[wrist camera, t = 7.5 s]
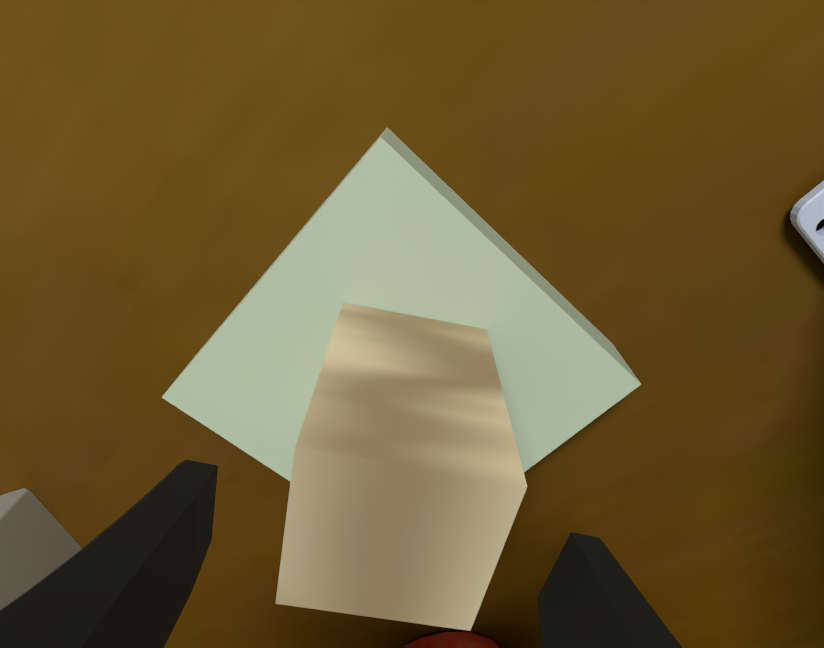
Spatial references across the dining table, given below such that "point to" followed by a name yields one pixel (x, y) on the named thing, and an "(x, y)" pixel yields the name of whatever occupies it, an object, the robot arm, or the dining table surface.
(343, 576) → the beech block
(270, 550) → the dining table surface
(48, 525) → the lighter
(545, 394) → the stacking block
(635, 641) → the robot arm
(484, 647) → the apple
